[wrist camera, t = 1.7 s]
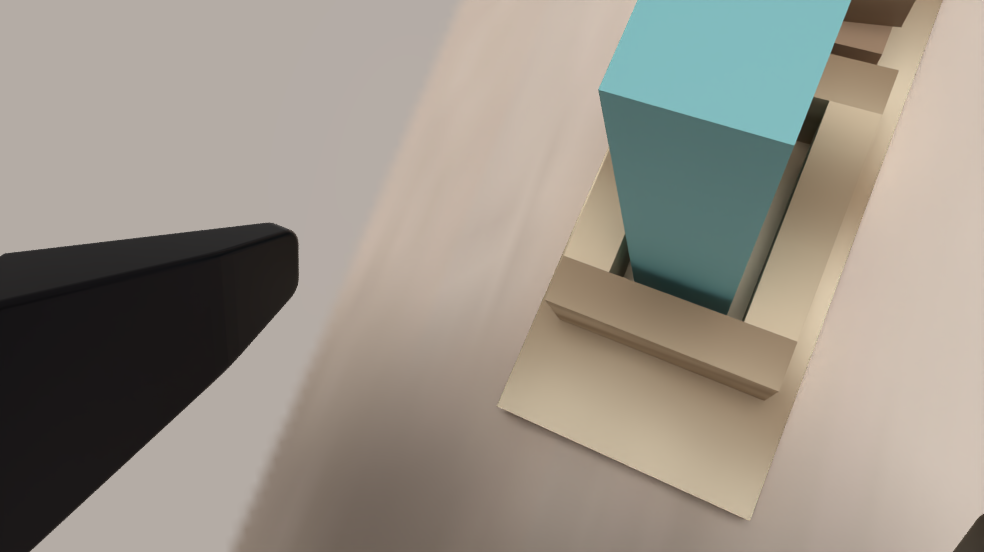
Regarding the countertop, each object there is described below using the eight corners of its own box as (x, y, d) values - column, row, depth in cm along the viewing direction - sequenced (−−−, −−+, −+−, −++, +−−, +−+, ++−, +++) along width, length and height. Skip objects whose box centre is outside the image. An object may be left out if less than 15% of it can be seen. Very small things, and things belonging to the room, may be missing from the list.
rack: (744, 517, 19) (762, 530, 15) (506, 409, 21) (473, 398, 17) (959, -61, 21) (1017, -165, 18) (726, -104, 23) (736, -204, 20)
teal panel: (724, 319, 19) (794, 145, 8) (635, 286, 20) (598, 90, 9) (790, 153, 20) (928, -197, 9) (700, 127, 20) (735, -223, 10)
